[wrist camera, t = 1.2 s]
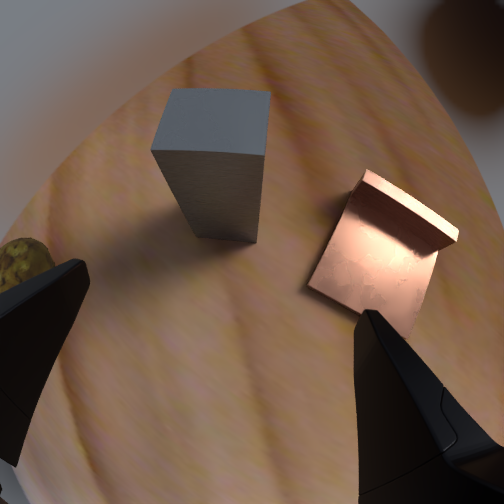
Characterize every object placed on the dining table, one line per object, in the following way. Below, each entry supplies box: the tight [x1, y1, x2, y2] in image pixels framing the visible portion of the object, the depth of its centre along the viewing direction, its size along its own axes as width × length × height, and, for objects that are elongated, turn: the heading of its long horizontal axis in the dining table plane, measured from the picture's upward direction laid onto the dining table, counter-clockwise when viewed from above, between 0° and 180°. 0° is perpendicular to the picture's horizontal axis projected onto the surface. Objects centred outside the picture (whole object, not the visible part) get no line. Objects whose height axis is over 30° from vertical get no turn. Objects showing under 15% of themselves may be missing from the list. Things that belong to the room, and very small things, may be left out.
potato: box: [0, 238, 55, 293], centre depth 18 cm, size 8×13×8 cm, turn 101°
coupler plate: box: [306, 170, 459, 339], centre depth 21 cm, size 10×10×4 cm
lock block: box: [151, 88, 271, 243], centre depth 18 cm, size 4×5×12 cm
